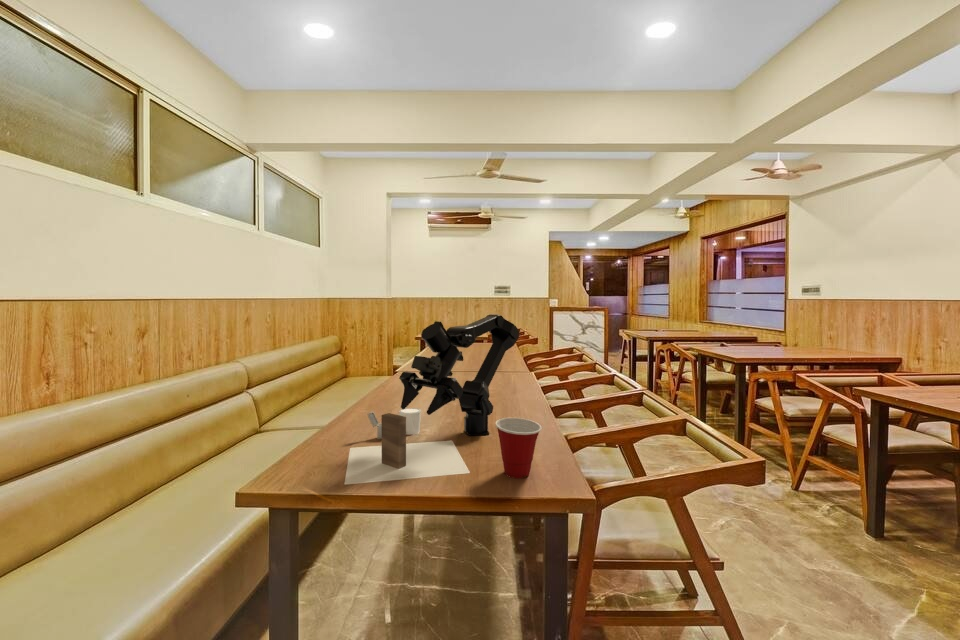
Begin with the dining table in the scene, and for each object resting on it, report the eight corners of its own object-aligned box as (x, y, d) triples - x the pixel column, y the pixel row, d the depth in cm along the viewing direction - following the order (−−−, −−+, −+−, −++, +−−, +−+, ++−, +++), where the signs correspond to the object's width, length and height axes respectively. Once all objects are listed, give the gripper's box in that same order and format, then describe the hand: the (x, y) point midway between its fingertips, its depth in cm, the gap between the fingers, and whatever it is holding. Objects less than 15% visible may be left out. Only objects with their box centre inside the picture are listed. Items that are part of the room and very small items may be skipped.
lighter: (392, 438, 126) (392, 411, 126) (391, 440, 124) (391, 413, 124) (369, 437, 126) (369, 411, 126) (367, 439, 125) (367, 412, 124)
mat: (452, 441, 123) (452, 440, 123) (470, 474, 100) (470, 472, 100) (350, 449, 117) (350, 447, 117) (344, 486, 93) (344, 484, 93)
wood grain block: (389, 460, 108) (389, 412, 107) (406, 465, 104) (406, 416, 104) (381, 463, 106) (381, 415, 105) (398, 469, 102) (398, 419, 102)
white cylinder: (425, 431, 133) (425, 409, 133) (413, 437, 127) (413, 414, 126) (407, 428, 136) (407, 406, 136) (394, 434, 130) (394, 411, 129)
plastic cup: (528, 487, 93) (529, 433, 93) (486, 476, 99) (486, 425, 98) (548, 471, 102) (549, 421, 102) (508, 461, 108) (508, 414, 108)
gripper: (404, 342, 119) (372, 388, 111) (456, 346, 108) (425, 398, 100) (423, 367, 126) (395, 412, 117) (474, 373, 115) (447, 424, 106)
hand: (414, 411), depth 110 cm, fingers open, 9 cm apart
